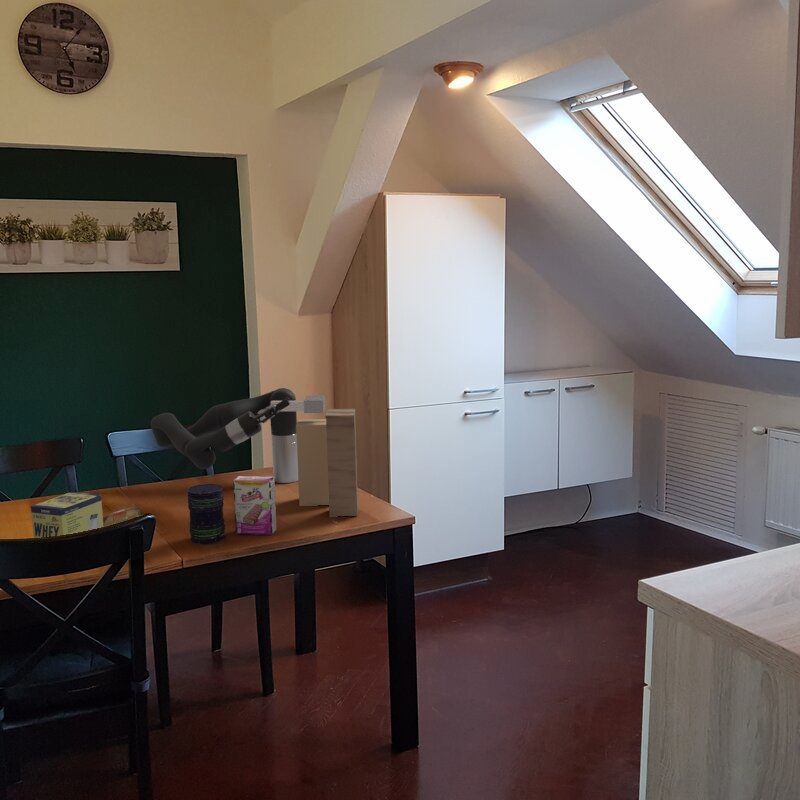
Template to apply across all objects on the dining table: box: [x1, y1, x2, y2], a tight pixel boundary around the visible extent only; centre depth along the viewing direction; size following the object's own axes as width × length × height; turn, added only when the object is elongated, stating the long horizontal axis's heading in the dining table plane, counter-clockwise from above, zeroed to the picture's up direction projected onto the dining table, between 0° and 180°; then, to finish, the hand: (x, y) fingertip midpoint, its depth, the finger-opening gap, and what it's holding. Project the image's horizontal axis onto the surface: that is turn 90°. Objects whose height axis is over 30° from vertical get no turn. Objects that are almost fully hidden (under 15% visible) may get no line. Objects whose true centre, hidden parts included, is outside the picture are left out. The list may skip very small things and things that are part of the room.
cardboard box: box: [296, 418, 329, 507], centre depth 272 cm, size 10×12×27 cm
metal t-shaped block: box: [271, 395, 326, 414], centre depth 269 cm, size 10×17×4 cm, turn 91°
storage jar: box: [186, 483, 226, 546], centre depth 237 cm, size 10×10×15 cm
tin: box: [103, 506, 145, 526], centre depth 240 cm, size 15×3×8 cm, turn 148°
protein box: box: [30, 491, 104, 539], centre depth 226 cm, size 10×16×16 cm
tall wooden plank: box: [325, 408, 359, 518], centre depth 258 cm, size 12×8×32 cm
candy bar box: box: [233, 475, 277, 536], centre depth 242 cm, size 11×5×16 cm, turn 84°
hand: (288, 400), depth 268 cm, fingers closed on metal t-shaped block, 3 cm apart
